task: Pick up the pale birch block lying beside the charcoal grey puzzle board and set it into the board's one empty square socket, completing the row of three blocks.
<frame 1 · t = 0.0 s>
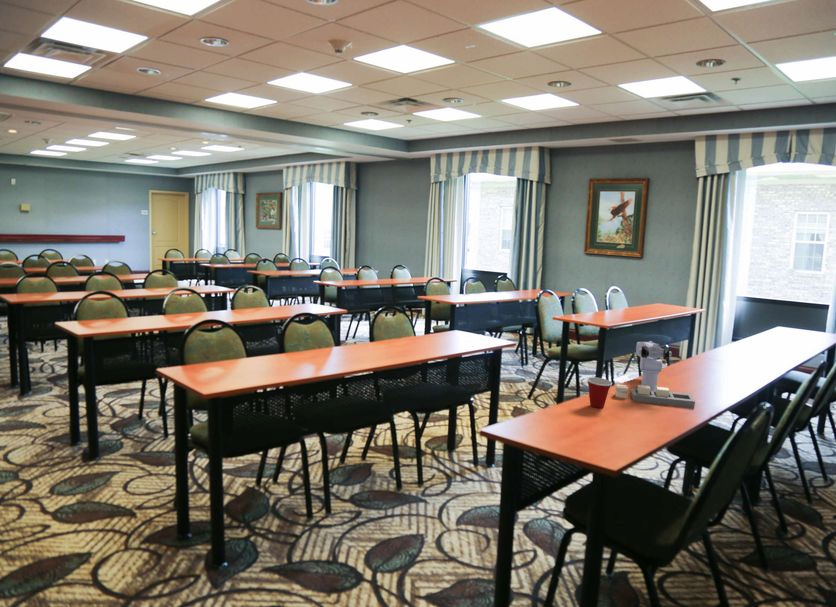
hand: (656, 354, 278), 22 cm above the table, tool horizontal, fingers open, 7 cm apart
plastic cup: (597, 406, 268), on the table
loose block: (621, 396, 285), on the table
puzzle board: (661, 400, 280), on the table
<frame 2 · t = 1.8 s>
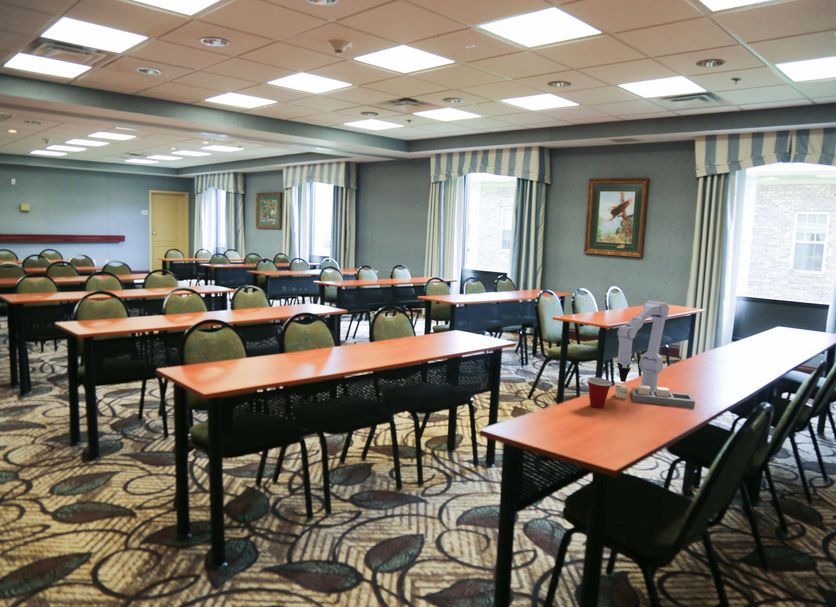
hand: (622, 379, 284), 8 cm above the table, tool pointing down, fingers open, 7 cm apart
nothing on the table moved.
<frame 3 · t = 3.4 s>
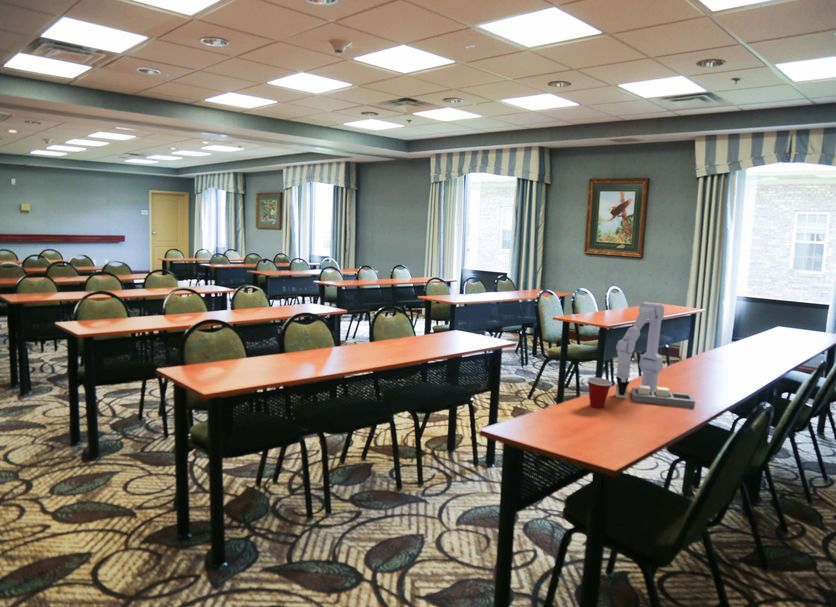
hand: (621, 393, 285), 1 cm above the table, tool pointing down, fingers closed on loose block, 5 cm apart
loose block: (621, 396, 285), on the table, touching gripper
everything else where it was.
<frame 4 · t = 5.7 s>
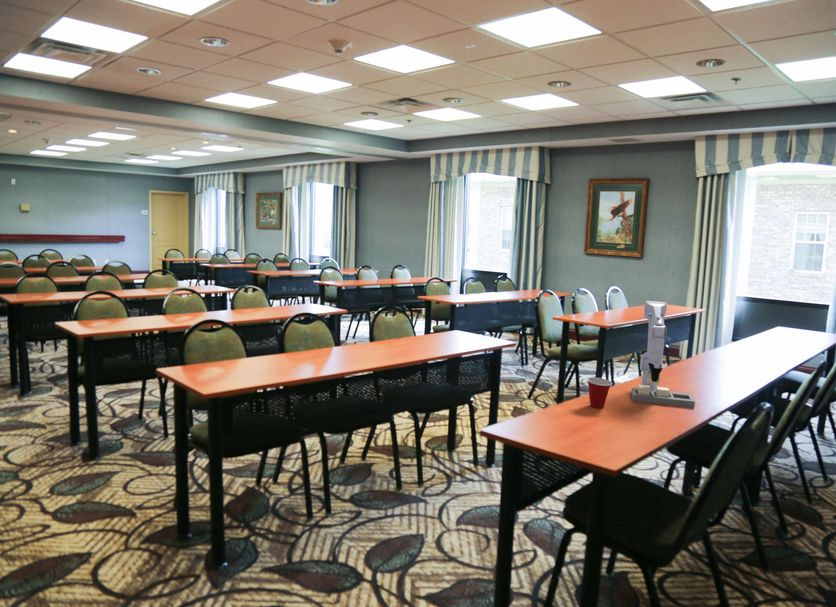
hand: (653, 380, 280), 9 cm above the table, tool pointing down, fingers closed on loose block, 5 cm apart
loose block: (652, 383, 281), point 8 cm above the table, touching gripper
everything else where it was.
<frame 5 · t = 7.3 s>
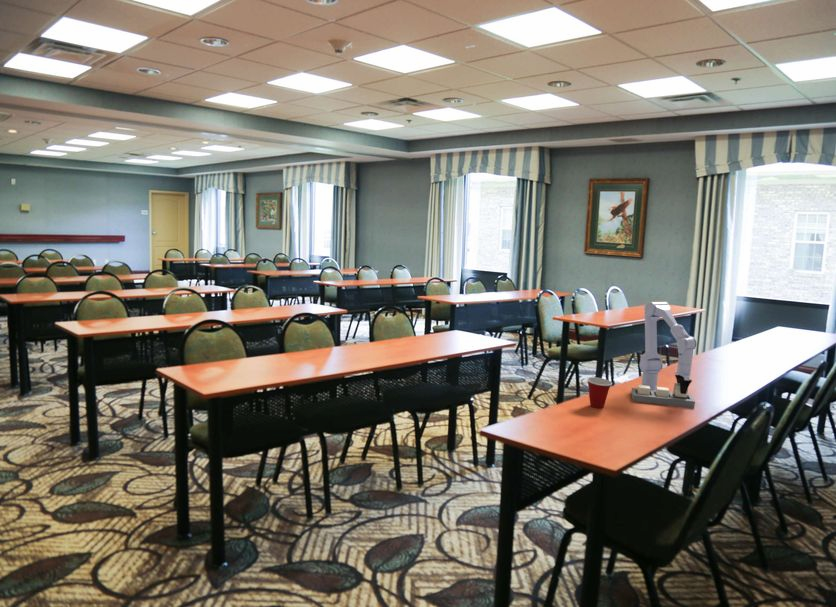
hand: (681, 392, 278), 5 cm above the table, tool pointing down, fingers closed on loose block, 5 cm apart
loose block: (680, 395, 278), point 3 cm above the table, touching gripper
everything else where it was.
when the fingers open (4 cm above the table, at t = 8.5 s): loose block drops 1 cm, resting on puzzle board.
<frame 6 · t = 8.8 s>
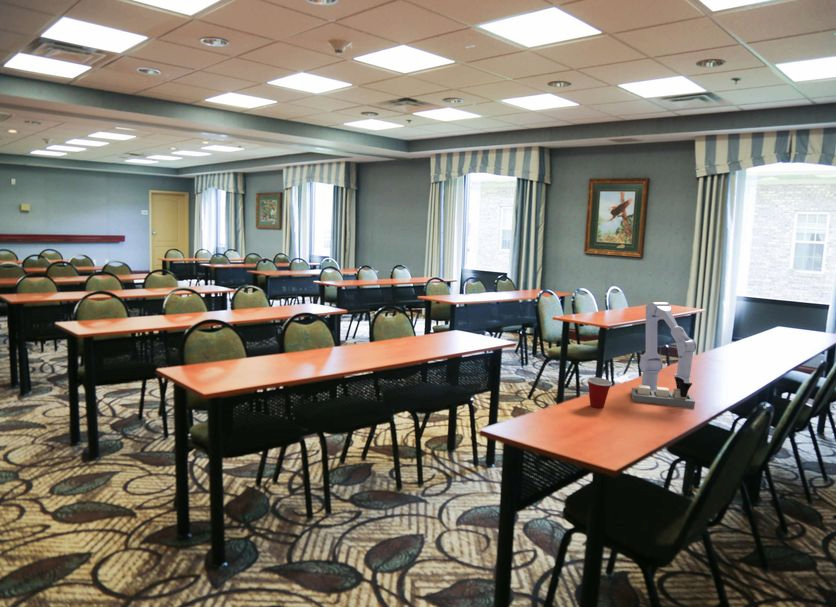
hand: (681, 394, 278), 4 cm above the table, tool pointing down, fingers open, 7 cm apart
loose block: (679, 401, 278), point 1 cm above the table, touching puzzle board
everything else where it was.
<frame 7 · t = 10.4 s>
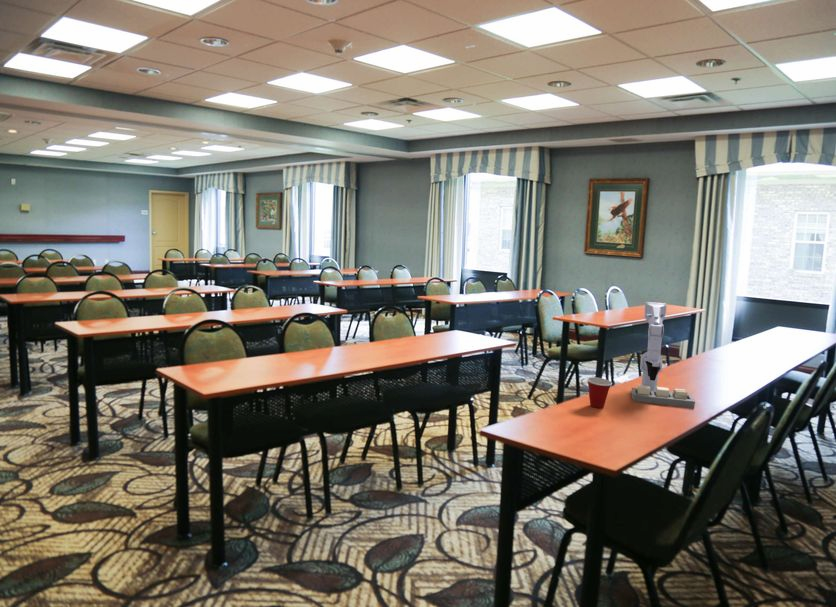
hand: (651, 378, 284), 9 cm above the table, tool pointing down, fingers open, 7 cm apart
nothing on the table moved.
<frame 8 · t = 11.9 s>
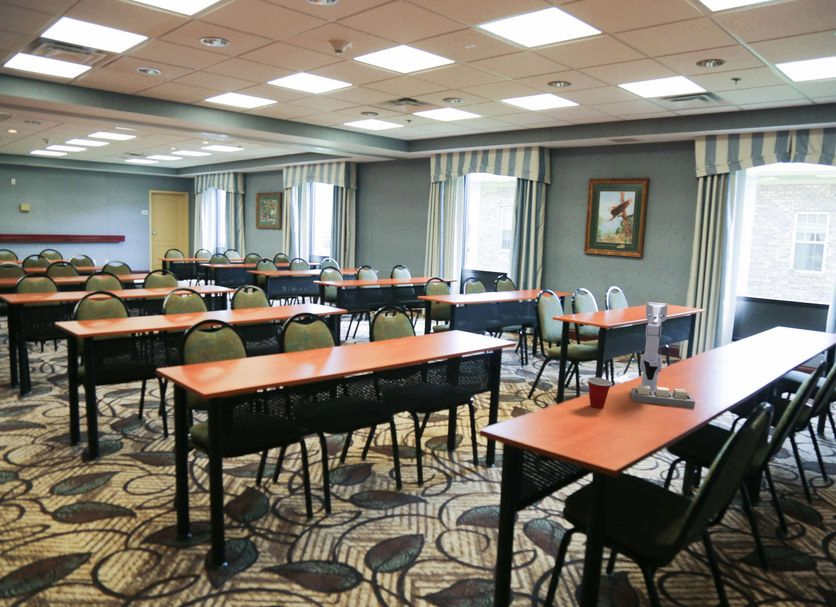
hand: (649, 377, 284), 9 cm above the table, tool pointing down, fingers open, 7 cm apart
nothing on the table moved.
at the end: loose block 0.6 cm from the target spot on the puzzle board, point 0.8 cm above the puzzle board's base; loose block tilted 0°; the gripper is holding nothing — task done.
